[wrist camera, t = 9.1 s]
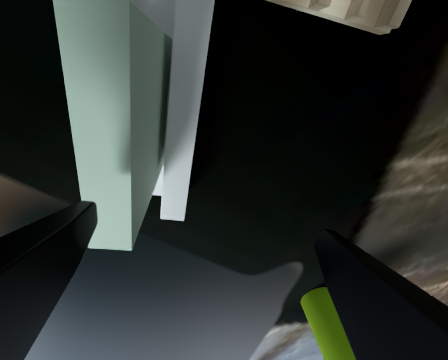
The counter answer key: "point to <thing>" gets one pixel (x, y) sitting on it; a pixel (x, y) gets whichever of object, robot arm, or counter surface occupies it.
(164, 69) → the green sheet
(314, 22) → the counter surface
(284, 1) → the birch rack
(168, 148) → the grey slotted stand
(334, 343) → the soap dispenser
